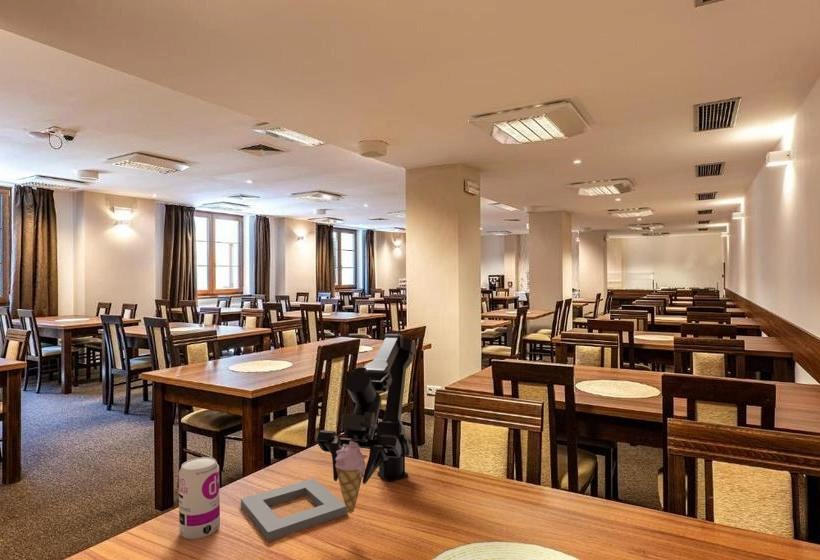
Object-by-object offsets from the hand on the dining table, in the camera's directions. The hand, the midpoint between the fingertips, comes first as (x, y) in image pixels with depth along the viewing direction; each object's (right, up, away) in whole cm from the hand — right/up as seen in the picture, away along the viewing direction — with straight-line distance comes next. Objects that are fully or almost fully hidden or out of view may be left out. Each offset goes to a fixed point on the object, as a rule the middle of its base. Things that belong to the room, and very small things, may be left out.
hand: (349, 481), depth 102 cm
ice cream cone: (0, -7, +1) cm, 7 cm away
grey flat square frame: (-15, -12, +13) cm, 23 cm away
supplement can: (-33, -13, +4) cm, 36 cm away
